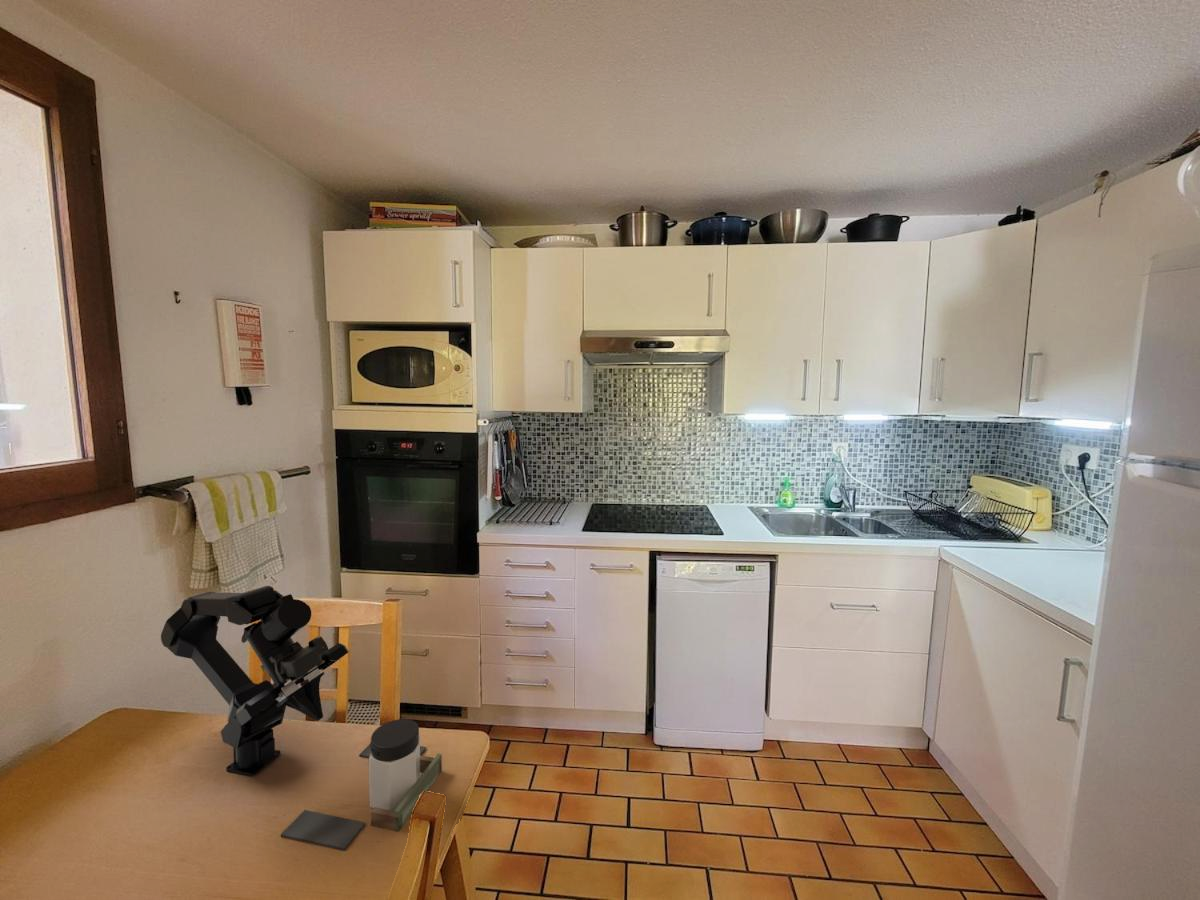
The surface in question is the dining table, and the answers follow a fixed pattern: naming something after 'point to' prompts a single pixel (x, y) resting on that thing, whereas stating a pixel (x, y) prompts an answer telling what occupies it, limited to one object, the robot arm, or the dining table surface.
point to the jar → (393, 763)
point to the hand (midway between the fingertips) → (320, 719)
